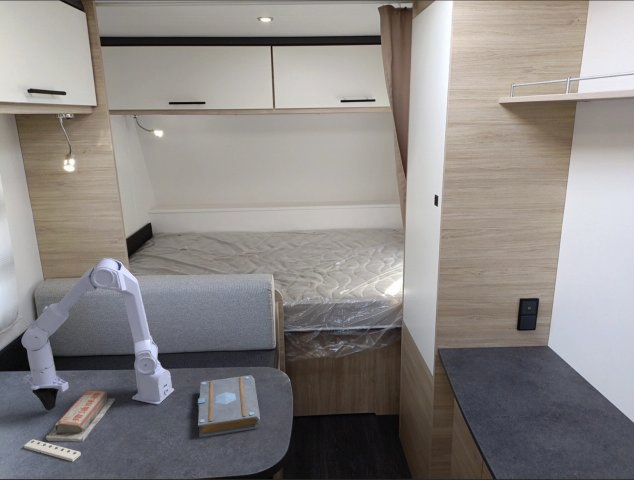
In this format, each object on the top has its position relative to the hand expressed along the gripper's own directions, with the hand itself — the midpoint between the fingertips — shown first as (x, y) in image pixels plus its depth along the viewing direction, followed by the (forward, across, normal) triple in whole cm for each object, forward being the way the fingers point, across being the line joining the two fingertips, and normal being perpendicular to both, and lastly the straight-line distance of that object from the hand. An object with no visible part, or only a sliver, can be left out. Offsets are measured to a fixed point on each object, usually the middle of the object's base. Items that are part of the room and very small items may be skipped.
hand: (50, 408), depth 131 cm
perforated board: (+1, +14, -12) cm, 19 cm away
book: (+2, +48, +17) cm, 51 cm away
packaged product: (+2, +11, 0) cm, 11 cm away
